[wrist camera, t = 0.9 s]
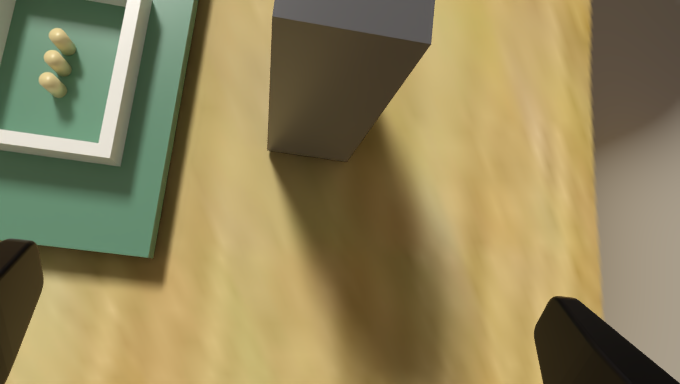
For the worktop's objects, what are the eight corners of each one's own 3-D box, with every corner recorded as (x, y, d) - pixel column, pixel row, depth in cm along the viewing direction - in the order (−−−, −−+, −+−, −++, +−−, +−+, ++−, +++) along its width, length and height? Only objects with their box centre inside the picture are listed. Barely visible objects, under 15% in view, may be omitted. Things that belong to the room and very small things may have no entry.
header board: (153, 258, 22) (139, 255, 19) (-87, 230, 21) (-134, 223, 18) (207, -51, 24) (201, -88, 22) (-4, -91, 23) (-36, -134, 21)
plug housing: (346, 161, 23) (430, 44, 12) (267, 150, 23) (272, 16, 11) (359, 56, 24) (448, -152, 13) (282, 42, 24) (302, -185, 12)
